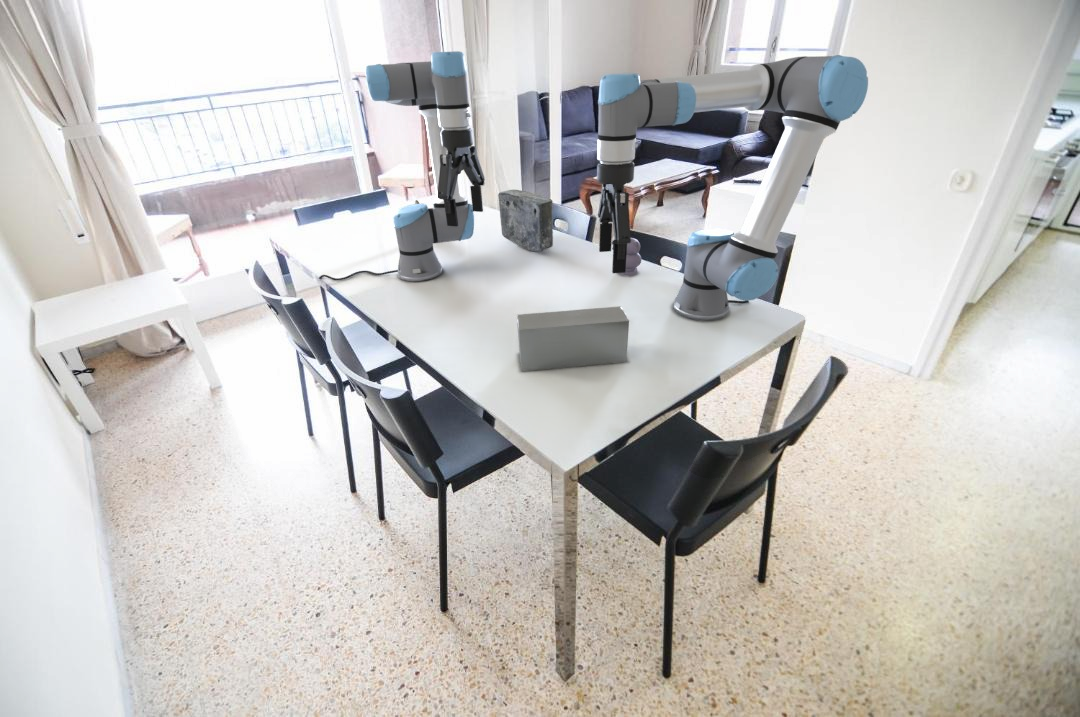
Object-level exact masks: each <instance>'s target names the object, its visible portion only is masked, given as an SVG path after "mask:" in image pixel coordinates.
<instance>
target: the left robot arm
mask: <svg viewBox="0 0 1080 717" xmlns="http://www.w3.org/2000/svg"><path fill="white" fill-rule="evenodd" d="M430 60H431V61H416V62H415V61H414V62H398V63H397V62H396V63H388V64H387V63H383V64H381V63H377V64H371V65H366V66H365V68H364V73H365V79H366V85H367V90H368V94H369V98H370V100H372V101H373V102H385V103H387V104H392V105H396V106H403V107H418V112H419V114H420V115H421V116H423V118H424V121H425V126H426V132H427V133H426V134H427V141H428V147H429V153H430V159H431V160H430V161H431V167H432V174H433V180H434V187H435V194H436V197H435V198H434V200H433V201H432V204H433V207H430V208H429V207H428V205H427V204H425V203H419V204H415V203H413V204H409V205H405V206H402V207H400V208H398V209H397V210H395V211H394V213H393V216H392V219H393V228H394V229H395V235H396V241H397V247H398V251H399V259H398V265H397V269H395V270H389V271H384V272H374V271H370V270H359V271H356V272H353V273H351V274H349V275H347V276H344V277H340V278H338V277H332V276H331V275H327V274H322V275H320V276H319V277H318V279H319V280H321V279H322V278H327V279H330V280H333V281H344V280H347V279H349V278H352V277H353V276H356V275H359V274H371V275H374V276H384V275H388V274H393V273H397V276H398V278H399V279H400V280H402V281H406V282H413V283H414V282H425V281H429V280H432V279H435V278H438V277H439V276H440V275H441V274H442V273H443V268H442V264H441V263H440V260H439V259H438V256H437V254H436V252H435V250H434V244H440V243H441V244H442V243H449V242H457V241H458V242H461V241H464V240H469V239H471V238H472V237H473V234H474V230H475V214H474V213H475V212H477V213H478V212H479V213H483V212H484V206H483V194H482V186H485V184H486V183H485V180H486V178H485V174H484V172H483V169H482V166H481V163H480V159H479V157H478V153H477V147H476V146H475V145H474V136H473V130H472V128H471V126H472V118H471V117H472V113H471V108H470V107H471V106H470V101H469V100H470V98H469V86H468V75H467V73H468V68H467V65H466V58H465V54H464V52H462V51H458V50H457V51H435V52H432V53H431V54H430ZM462 171H464V174H465V175H466V177H467V178H468V180H469V182H470V184H471V185H470V187H469V188H470V197H471V203H469V202H468V201H469V200H468V198H467V197H466V195H464V194H463V189H462V183H461V182H462V181H461V173H462Z"/></svg>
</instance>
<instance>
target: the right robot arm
mask: <svg viewBox="0 0 1080 717" xmlns="http://www.w3.org/2000/svg"><path fill="white" fill-rule="evenodd" d="M867 74H868V71H867V68H866V66H865V65H864V63H863V62H862V61H861V60H860V59H859V58H857V57H854V56H845V55H841V54H836V55H835V54H834V55H824V56H823V55H822V56H821V55H820V56H818V55H817V56H806V55H805V56H804V55H803V56H795V57H790V58H786V59H780V60H777V61H776V60H775V61H771V62H765V63H757V64H752V65H751V66H750V67H749V68H748V69H745V70H735V71H725V72H715V73H705V74H704V73H703V74H692V75H683V76H673V77H661V78H654V79H642V80H641V78H640V75H639V73H630V72H629V73H608V74H604V75H603V76H602V77H601V79H600V83H599V87H598V100H597V105H598V127H597V128H598V131H597V132H598V135H597V151H596V152H597V154H596V159H597V160H598V161H599V162H598V163H597V164H596V181H597V182H598V183H600V184H601V191H600V198H599V204H598V205H599V206H598V213H597V217H598V220H599V243H598V244H599V245H598V246H599V247H598V249H599V250H598V252H599V253H605V252H612V266H611V268H612V269H611V272H612V274H619V273H625V272H626V255H627V244H628V243H630V242H631V238H632V237H631V223H630V222H631V221H630V207H629V206H630V204H629V203H630V194H629V193H630V192H626V191H625V185H626V184H630V183H632V182H633V181H634V178H635V163H634V160H635V158H636V148H638V146H639V143H638V142H637V132H638V128H647V127H663V126H673V127H674V126H676V125H681V124H686V123H688V122H689V121H690V120H691V119H692V118H693V116H694V114H695V113H701V112H703V113H704V112H711V111H720V110H729V109H731V110H732V109H739V108H745V109H746V110H747V111H750V112H754V111H755V112H756V111H768V112H776V113H782V114H783V115H782V117H781V120H782V124H783V125H784V130H783V132H782V134H781V137H780V139H779V141H778V144H777V146H776V148H775V151H774V153H773V155H772V157H771V160H770V162H769V164H768V167H767V168H766V171H765V174H764V176H763V178H762V180H761V182H760V185H759V187H758V190H757V191H756V194H755V196H754V198H753V201H752V203H751V205H750V208H749V210H748V212H747V214H746V216H745V220H743V224H742V226H741V228H740V230H739V231H738V232H736V233H734V232H733V231H732V230H728V229H723V228H722V229H721V228H709V229H701V230H695V231H694V232H691V234H690V235H689V237H688V241H687V245H686V255H685V264H684V272H683V280H682V284H681V286H680V288H679V290H678V292H677V294H676V296H675V298H674V301H673V310H674V312H675V313H676V314H678V315H679V316H681V317H683V318H685V319H689V320H693V321H700V322H709V321H717V320H720V319H723V318H725V317H726V316H728V314H729V309H730V304H738V305H739V304H743V305H744V304H748V303H749V302H750V301H755V300H756V299H759V298H760V297H761V296H764V295H765V294H767V293H768V292H769V291H770V290H771V289H772V287H773V286H774V284H775V283H776V282H777V279H778V277H779V270H778V269H779V266H778V264H777V263H776V261H775V259H776V257H777V255H778V252H779V250H778V247H777V245H776V241H777V239H778V237H779V235H780V233H781V231H782V229H783V227H784V225H785V222H786V221H787V218H788V216H789V214H790V212H791V210H792V208H793V206H794V204H795V201H796V200H797V197H798V195H799V193H800V191H801V189H802V186H803V185H804V182H805V180H806V179H807V176H808V174H809V172H810V171H811V170H810V169H811V167H812V165H813V163H814V161H815V159H816V157H817V155H818V153H819V150H820V149H821V146H822V144H823V142H824V140H825V139H826V138H827V137H830V136H831V135H833V134H835V133H837V130H838V128H839V126H840V124H841V122H843V121H845V120H848V119H851V118H852V117H853V115H855V114H857V113H858V111H859V110H860V109H861V107H862V105H863V104H864V102H865V99H866V97H867V94H868V89H869V76H868V75H867ZM613 235H614V240H613V239H612V238H613ZM728 295H729V296H730V297H734V298H736V299H738V300H735V299H734V300H733V299H728Z"/></svg>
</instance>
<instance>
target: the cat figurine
mask: <svg viewBox="0 0 1080 717" xmlns="http://www.w3.org/2000/svg"><path fill="white" fill-rule="evenodd" d="M640 250H641V243H640V242H639V240H638V239H636V238H634V237H631V242H630V243H628V244H627V255H626V272H625V273H618V274H619V275H620V276H625V277H633V276H635V275H637V274H638V267H639V266H640V265H641V264H642V256H641V254H640V253H639V252H640Z"/></svg>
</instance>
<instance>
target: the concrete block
mask: <svg viewBox="0 0 1080 717" xmlns="http://www.w3.org/2000/svg"><path fill="white" fill-rule="evenodd" d="M497 196H498V206H499V207H498V208H499V218H500V226H501V235H502V236H503V238H505V239H506V240H508V241H510V242H511V243H513V244H515V245H517V246H518V247H521V248H523V249H524V250H527V251H531V252H543V251H545V250H548V249H550V248H552V247H553V246H554V230H553V229H554V228H553V227H554V226H553V224H554V222H553V221H554V218H553V216H554V214H553V211H554V210H553V208H554V207H553V204H554V202H553V199H551V198H549V197H546V196H544V195H540V194H538V193H534V192H530V191H526V190H519V189H507V190H504V191H501V192H498V195H497Z"/></svg>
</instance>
